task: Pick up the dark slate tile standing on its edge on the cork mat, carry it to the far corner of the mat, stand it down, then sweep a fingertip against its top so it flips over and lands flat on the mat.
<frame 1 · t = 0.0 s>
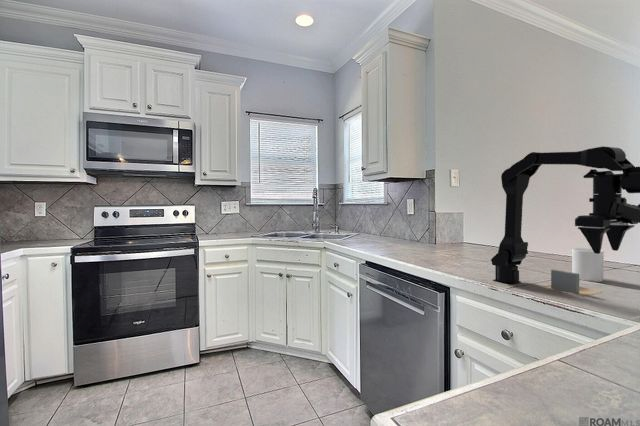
hand: (606, 251, 85), 15 cm above the countertop, fingers open, 9 cm apart
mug: (585, 279, 115), on the countertop
slate tile: (564, 290, 99), resting on cork mat
cork mat: (571, 290, 100), on the countertop
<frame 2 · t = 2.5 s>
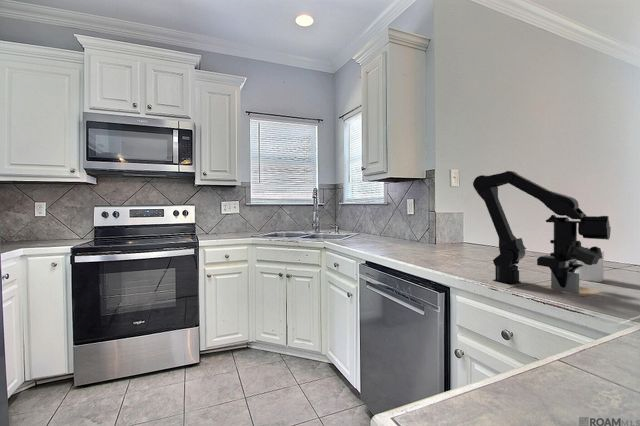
hand: (564, 286, 99), 2 cm above the countertop, fingers closed on slate tile, 2 cm apart
slate tile: (564, 290, 99), resting on cork mat, touching gripper
everything else where it was.
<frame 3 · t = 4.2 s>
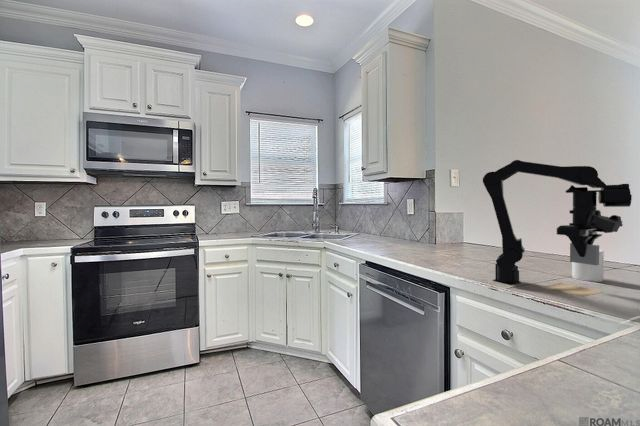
hand: (583, 256, 99), 11 cm above the countertop, fingers closed on slate tile
slate tile: (584, 263, 99), point 9 cm above the countertop, touching gripper
everything else where it was.
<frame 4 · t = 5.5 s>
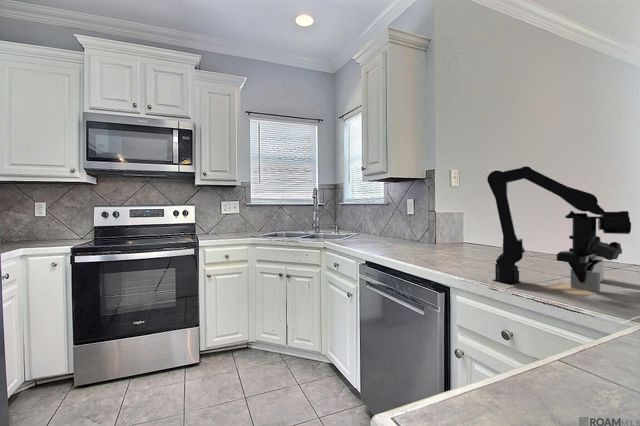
hand: (583, 282, 100), 3 cm above the countertop, fingers closed on slate tile, 2 cm apart
slate tile: (584, 289, 100), resting on cork mat, touching gripper
everything else where it was.
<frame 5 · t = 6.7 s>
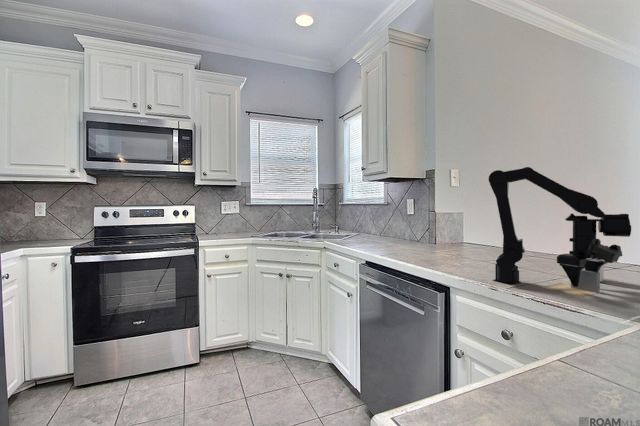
hand: (583, 284, 100), 2 cm above the countertop, fingers open, 9 cm apart
slate tile: (584, 289, 100), resting on cork mat
everything else where it was.
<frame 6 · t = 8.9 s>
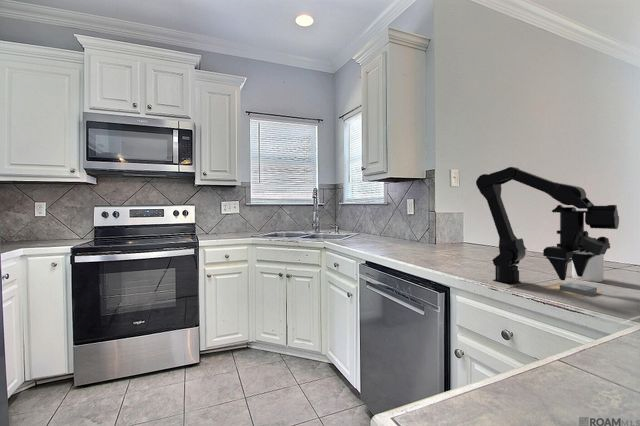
hand: (571, 278, 97), 5 cm above the countertop, fingers open, 9 cm apart
slate tile: (583, 287, 99), point 1 cm above the countertop, tilted 90°, touching cork mat
everything else where it was.
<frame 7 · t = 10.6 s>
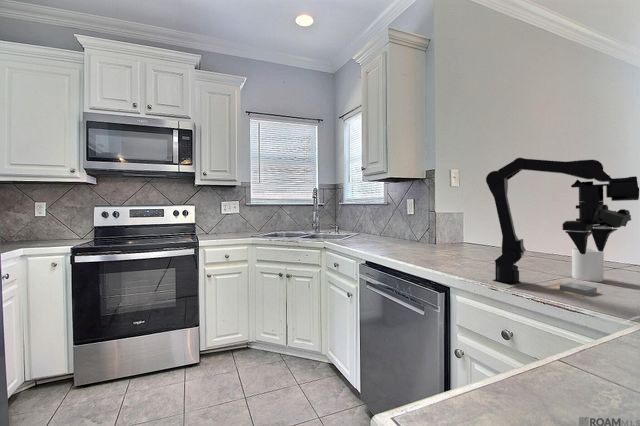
hand: (591, 252, 97), 13 cm above the countertop, fingers open, 9 cm apart
nothing on the countertop moved.
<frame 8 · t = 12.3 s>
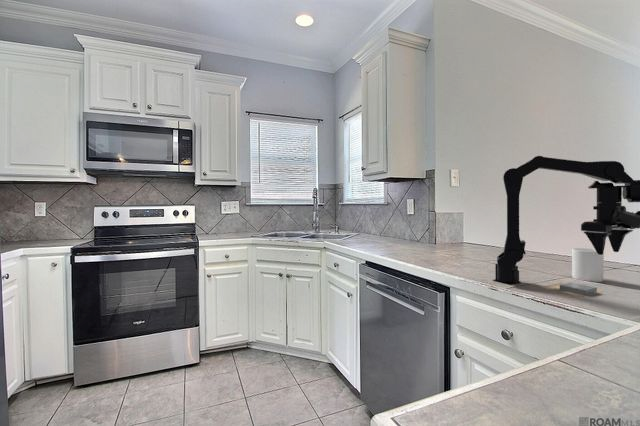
hand: (608, 253, 98), 12 cm above the countertop, fingers open, 9 cm apart
nothing on the countertop moved.
at the end: slate tile tilted 90°; slate tile inside the target area on the cork mat (3.1 cm from its centre), point 1.2 cm above the cork mat's base; the gripper is holding nothing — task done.
